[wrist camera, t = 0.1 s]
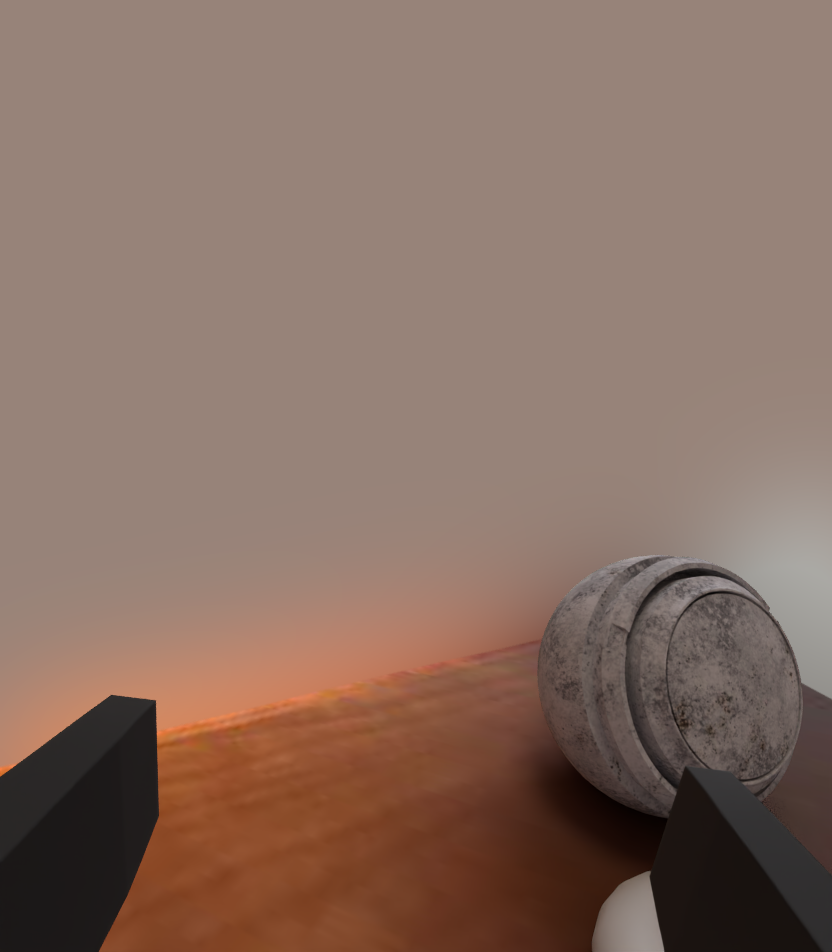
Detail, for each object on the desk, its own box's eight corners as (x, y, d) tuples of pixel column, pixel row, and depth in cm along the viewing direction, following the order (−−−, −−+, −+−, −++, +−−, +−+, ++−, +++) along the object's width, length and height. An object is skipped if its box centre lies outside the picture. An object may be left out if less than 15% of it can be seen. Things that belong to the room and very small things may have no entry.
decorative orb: (622, 915, 32) (691, 643, 28) (478, 729, 45) (512, 522, 41) (820, 840, 38) (899, 608, 34) (645, 695, 51) (688, 513, 47)
